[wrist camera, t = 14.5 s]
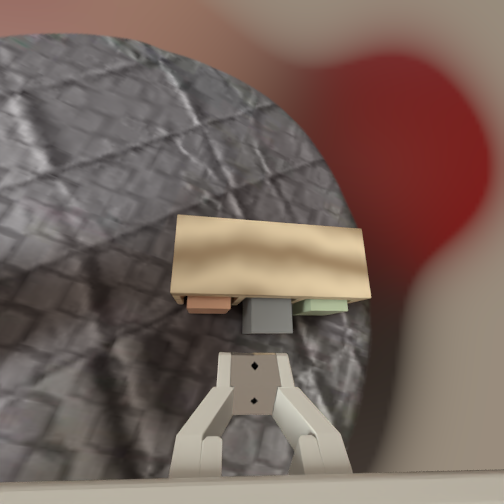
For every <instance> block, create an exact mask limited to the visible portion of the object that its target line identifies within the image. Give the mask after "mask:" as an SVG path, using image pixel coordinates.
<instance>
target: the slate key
mask: <svg viewBox="0 0 504 504" xmlns="http://www.w3.org/2000/svg"><path fill="white" fill-rule="evenodd" d="M287 333H293V326H292V305H291V298H252V297H245V298H244V299H243V326H242V334H287Z"/></svg>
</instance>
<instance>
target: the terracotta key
mask: <svg viewBox="0 0 504 504" xmlns="http://www.w3.org/2000/svg"><path fill="white" fill-rule="evenodd" d="M230 309H231V297H213V296H188V298H187V310H188V312H189V313H195V314H226V313H227V312H228V311H229V310H230Z"/></svg>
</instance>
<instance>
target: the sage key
mask: <svg viewBox="0 0 504 504" xmlns="http://www.w3.org/2000/svg"><path fill="white" fill-rule="evenodd" d="M346 311H348V306H347V300H331V299H304V300H302V301H299V302H296V303H293V304H292V315H322V316H324V315H330V314H335V313H341V312H346Z"/></svg>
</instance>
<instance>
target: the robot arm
mask: <svg viewBox="0 0 504 504" xmlns="http://www.w3.org/2000/svg"><path fill="white" fill-rule="evenodd" d="M251 414H254V415H272V416H273V418H274V420H275V421H276V423H277V424H278V426H279V427H280V429H281V431H282V432H283V434H284V435H285V437H286V438H287V440H288V442H289V443H290V445H291V446H292V448H293V450H294V451H295V453H294V456H293V459H292V462H291V465H290V468H289V472H288V473H289V475H270V476H232V477H221V464H222V439H221V438H220V437H221V436H222V434H223V432H224V430H225V428H226V426H227V425H228V423H229V421H230V419H231V417H232V415H251ZM0 504H504V470H465V471H426V472H390V473H389V472H388V473H353V472H352V468H351V465H350V462H349V459H348V456H347V453H346V450H345V447H344V444H343V441H342V437H341V434H340V433H339V432H338V431H337V430H336V429H335V427H334V426H333V425H332V424H331V423H330V422H329V421H328V420H327V419H326V417H325V416H324V415H323V414H322V413H321V412H320V411H319V410H318V409H317V407H316V406H315V405H314V404H313V403H312V402H311V401H310V400H309V399H308V397H307V396H306V395H305V394H304V393H303V392H302V391H301V390H300V389H299V387H295V385H294V380H293V376H292V371H291V367H290V362H289V357H288V355H287V353H234V352H219V359H218V373H217V387H213V388H212V389H211V390H210V392H209V393H208V394H207V396H206V397H205V398H204V400H203V401H202V402H201V404H200V405H199V406H198V408H197V409H196V410H195V412H194V413H193V414H192V415H191V417H190V418H189V419H188V421H187V422H186V423H185V425H184V426H183V427H182V429H181V430H180V431H179V433H178V434H177V435H176V440H175V446H174V451H173V456H172V462H171V467H170V472H169V477H168V478H156V479H118V480H79V481H39V482H0Z"/></svg>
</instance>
